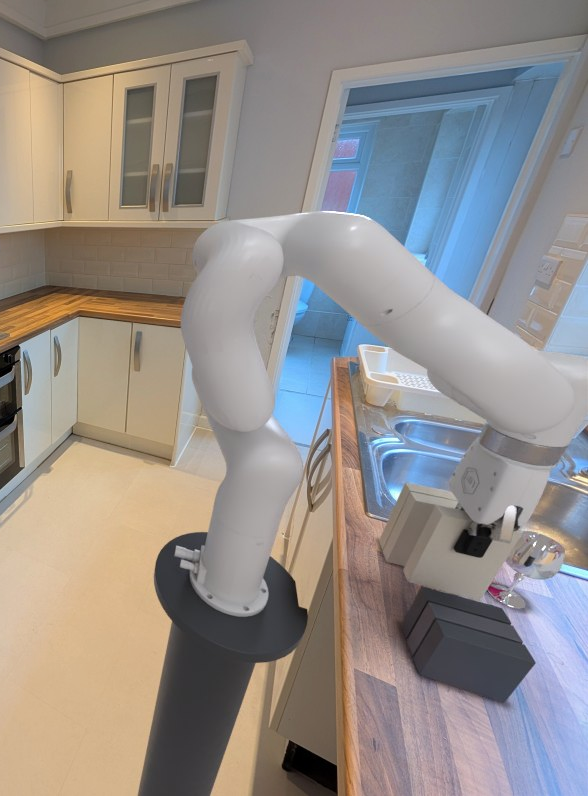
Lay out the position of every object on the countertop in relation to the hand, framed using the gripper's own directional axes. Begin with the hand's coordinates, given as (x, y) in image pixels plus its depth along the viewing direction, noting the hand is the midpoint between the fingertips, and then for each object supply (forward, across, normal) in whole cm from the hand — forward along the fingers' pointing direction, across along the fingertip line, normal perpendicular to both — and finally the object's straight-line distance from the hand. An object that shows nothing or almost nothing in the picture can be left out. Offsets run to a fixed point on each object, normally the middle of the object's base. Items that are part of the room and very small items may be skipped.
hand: (462, 545), depth 64 cm
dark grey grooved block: (+12, +12, -2) cm, 17 cm away
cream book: (+9, 0, 0) cm, 9 cm away
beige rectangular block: (+12, -9, 0) cm, 15 cm away
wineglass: (+12, -5, +11) cm, 17 cm away
